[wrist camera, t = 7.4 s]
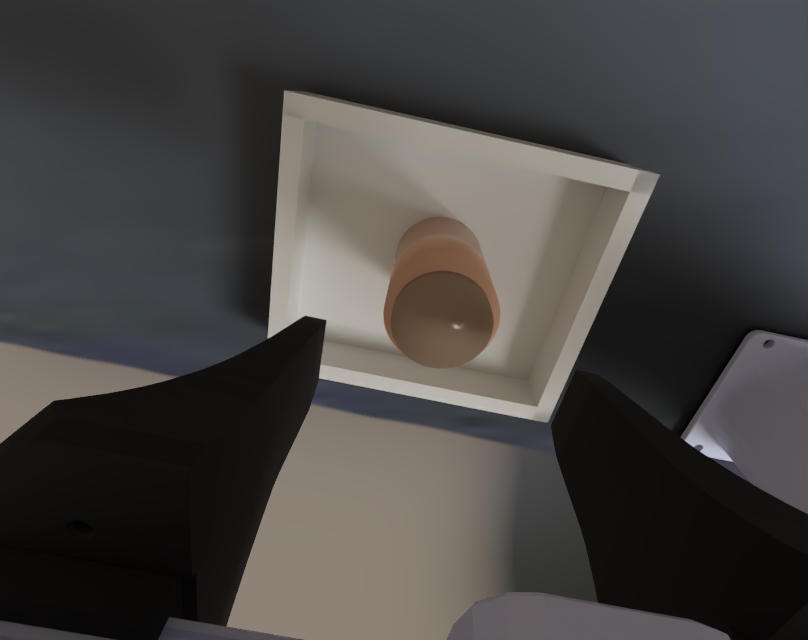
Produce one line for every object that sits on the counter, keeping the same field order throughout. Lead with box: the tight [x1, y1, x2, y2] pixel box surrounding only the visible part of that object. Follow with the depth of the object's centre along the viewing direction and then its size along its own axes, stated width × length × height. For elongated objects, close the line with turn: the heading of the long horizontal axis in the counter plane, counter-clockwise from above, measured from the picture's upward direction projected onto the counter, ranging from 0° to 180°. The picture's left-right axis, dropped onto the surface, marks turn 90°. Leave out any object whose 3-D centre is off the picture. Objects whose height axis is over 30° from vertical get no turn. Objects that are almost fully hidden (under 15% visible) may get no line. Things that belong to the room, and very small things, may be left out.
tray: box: [268, 90, 660, 423], centre depth 20 cm, size 14×12×3 cm
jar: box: [383, 217, 500, 368], centre depth 17 cm, size 4×4×7 cm
